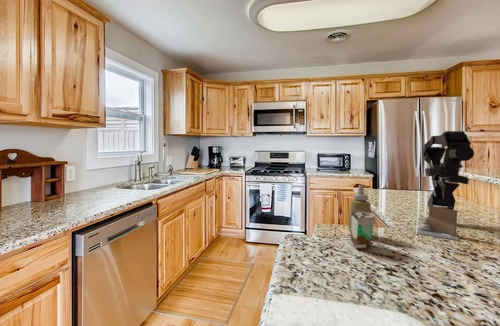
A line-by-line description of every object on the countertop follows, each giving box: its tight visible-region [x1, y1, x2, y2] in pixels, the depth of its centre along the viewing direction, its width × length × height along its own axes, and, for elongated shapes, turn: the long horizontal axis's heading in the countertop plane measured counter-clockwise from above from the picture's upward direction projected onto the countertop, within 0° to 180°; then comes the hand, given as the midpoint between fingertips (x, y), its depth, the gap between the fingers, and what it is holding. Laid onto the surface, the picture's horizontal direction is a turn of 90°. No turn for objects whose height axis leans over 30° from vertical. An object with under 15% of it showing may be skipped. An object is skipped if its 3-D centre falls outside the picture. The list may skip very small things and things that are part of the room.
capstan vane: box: [419, 206, 458, 235], centre depth 98 cm, size 4×12×9 cm, turn 32°
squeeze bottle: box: [347, 184, 372, 234], centre depth 94 cm, size 8×8×18 cm
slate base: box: [417, 225, 460, 242], centre depth 99 cm, size 14×12×1 cm
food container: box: [350, 210, 377, 251], centre depth 82 cm, size 12×6×10 cm, turn 168°
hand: (444, 199), depth 106 cm, fingers closed
